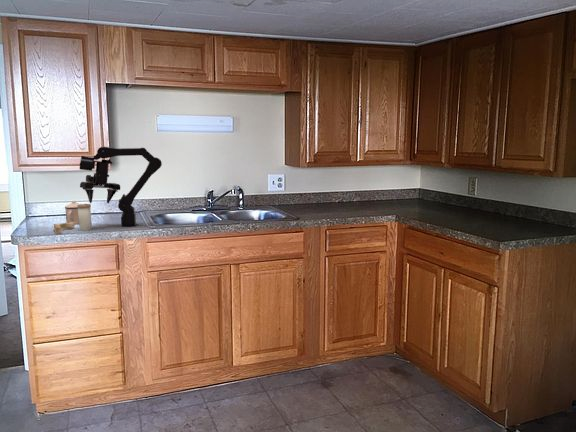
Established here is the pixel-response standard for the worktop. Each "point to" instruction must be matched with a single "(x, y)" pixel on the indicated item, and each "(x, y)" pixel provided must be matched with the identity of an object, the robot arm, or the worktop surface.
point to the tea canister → (84, 217)
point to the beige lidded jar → (72, 213)
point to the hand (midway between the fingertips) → (99, 203)
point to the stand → (63, 227)
